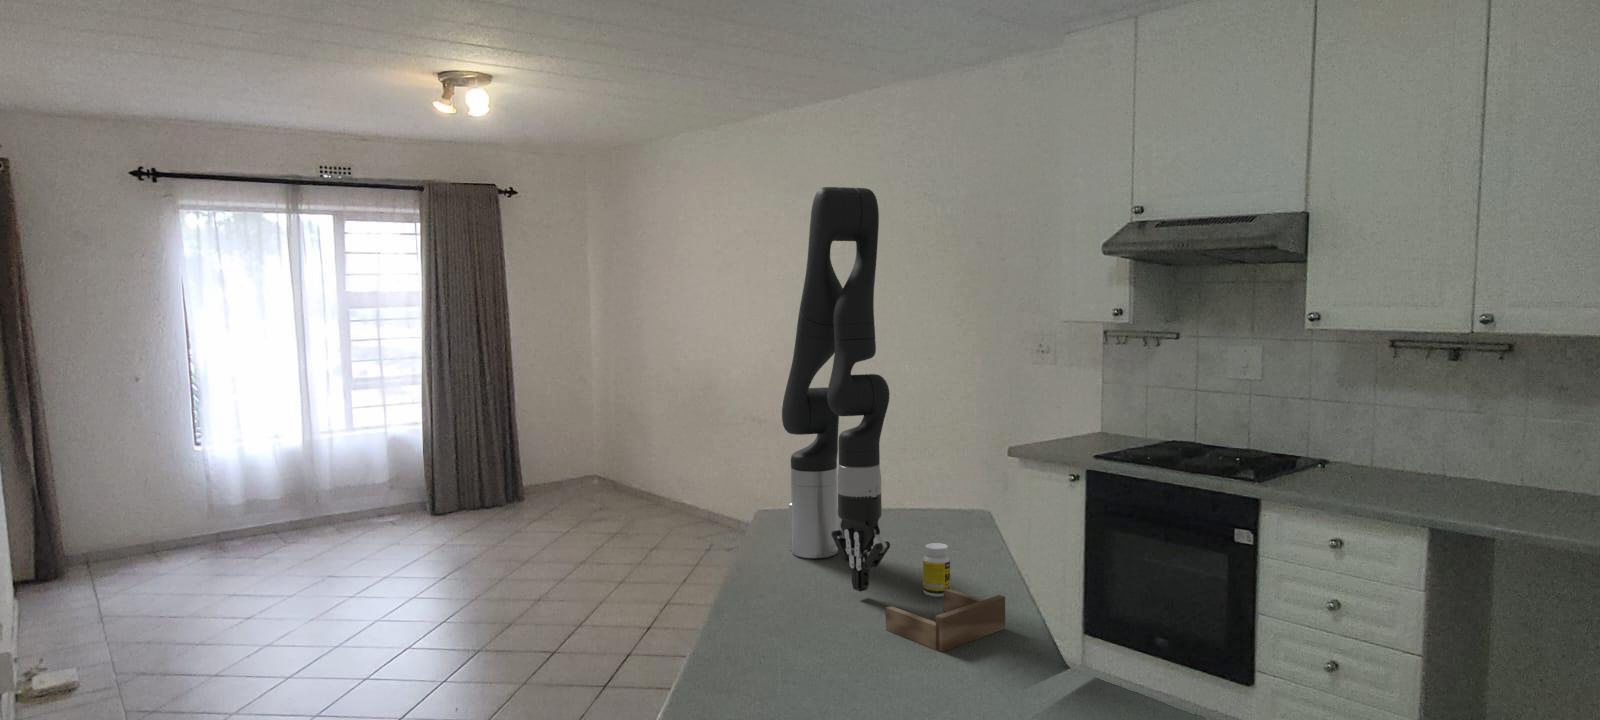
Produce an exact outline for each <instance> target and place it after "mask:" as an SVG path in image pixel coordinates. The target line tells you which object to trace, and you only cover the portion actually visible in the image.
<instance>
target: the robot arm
mask: <svg viewBox="0 0 1600 720" xmlns="http://www.w3.org/2000/svg"><path fill="white" fill-rule="evenodd" d="M879 212H880V211H879V204H878V199H877V196H876V195H875V192H874V191H872V190H871V189H870V188H865V187H843V186H842V187H840V186H839V187H837V186H824V187H821V188H819V189H818V190H817V191H816V193H815V195H814V198H813V201H812V205H811V211H810V223H809V233H808V235H809V236H808V250H807V260H806V261H807V262H806V269H805V277H804V281H803V282H804V283H803V287H802V295H801V299H800V300H801V301H800V304H799V309H798V316H797V317H798V318H797V324H796V333H795V342H794V343H795V344H794V349H793V357H792V363H791V365H790V370H789V373H788V374H789V375H788V380H787V383H786V387H785V391H784V396H783V401H782V407H781V420H782V421H781V422H782V426H783V428H784V430H785V431H786V432H787V433H788V434H790V435H797V436H799V435H802V436H803V435H804V436H805V435H816V437H815V439H814V441H812V443H810V444H809V445H807V446H805V447H804V448H801V449H799V450H796V451H795V452H793V453H792V454H791V456H790V483H791V484H790V487H791V488H790V490H791V491H790V493H791V503H789V504H788V535H789V536H788V538H789V540H788V542H789V547H788V548H789V549H788V550H789V551H791V553H792V555H794V556H795V557H798V558H799V557H800V558H805V559H824V558H830V557H833V556H835V555H837V554H838V553H839V554H840V557H841V560H843V562H844V563H848V564H849V567H850V568H851V583H852V589H853V590H855V591H858V592H860V593H861V592H863V591H867V590H868V588H869V586H870V574H869V573H870V569H872V568H877V567H878V566H879V565H880V564H881V562H882V560H883V558H884V557H885V555H886V554H887V552H888V551H889V549H891V548H890V547H891V543H890V541H889V540H888V541H886V540H885V541H884V539H883V538H882V537H881V530H880V526H879V521H880V519H881V518H882V515H883V514H882V511H883V510H882V508H883V507H882V506H883V505H882V473H881V467H880V466H881V464H880V461H881V460H880V457H881V456H880V441H881V435H882V431H883V426H884V421H885V417H886V416H887V415H886V414H887V411H888V407H889V402H890V388H889V384H888V382H887V380H886V379H885V378H884V377H883V376H882V375H879V374H876V373H869V374H868V373H865V374H852V370H853V367H854V365H856V364H857V363H859V362H864V361H867V360H870V359H872V358H873V357H874V356H875V355H876V351H877V349H876V348H877V345H876V344H877V343H876V328H875V311H874V301H875V300H874V298H875V297H874V293H875V281H876V280H875V279H876V270H877V268H876V267H877V258H878V257H877V256H878V240H879V223H880V217H879V216H880V214H879ZM833 242H855V248H856V251H855V253H856V254H855V259H854V264H853V266H852V270H851V271H850V275H849V276H848V278H847V281H846V282H845V284H844V286H842V284H841V283H840V280H839V279H838V276H837V274H836V272H835V269H834V268H833V264H832V260H831V247H832V245H833ZM832 357H833V362H832V363H833V364H832V369H831V374H830V378H829V381H828V387H811V386H810V385H811V383H812V381H813V379H814V378H815V376H816V374H817V373H818V372H819V371H820V370H821V368H823V367H824V366H825V365H826V363H827V362H828V361H829V360H830V359H831V358H832ZM859 416H860V417H861V416H863V417H862V420H861V422H860V423H859V425H857V426H855V427H852V428H849V429H846V430H844V431H841V432H840V434H839V425H840V422H839V420H840V417H859ZM837 461H838V462H837ZM838 519H840V520H841V522H840V527H839V528H838V524H839V523H838Z"/></svg>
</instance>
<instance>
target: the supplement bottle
mask: <svg viewBox="0 0 1600 720" xmlns="http://www.w3.org/2000/svg"><path fill="white" fill-rule="evenodd" d="M924 554H925V555H924V556H923V557H922V583H923V584H922V590H923V594H925V595H927V596H931V597H944V593H943V590H945V589H948V588H949V589H951V559H950V557H949V556H948V555H949V546H948V544H945V543H939V542H932V543H927V544H925V545H924Z"/></svg>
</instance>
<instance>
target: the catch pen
mask: <svg viewBox="0 0 1600 720" xmlns="http://www.w3.org/2000/svg"><path fill="white" fill-rule="evenodd" d="M943 593H944V596H943V612H944V613H940V614H937V615H935V621H934V620H932V619H928V618H925V617H923V616H920V615H918V614H914V613H912V612H909V611H906V610H904V609H901V608H898V607H896V606H893V605H890V606H887V607H886V606H885V631H888V632H890V633H893V634H895V635H898V636H900V637H903V638H906V639H907V640H910V641H913V642H915V643H918V644H920V645H923V646H926V647H928V648H930V649H934V650H936V651H939V652H941V653H944V652H947V651H949V650H951V649H956V648H957V647H959V646H962V645H965V644H968V643H970V642H974V641H975V640H978V639H981V638H984V637H986V636H989V635H992V634H994V633H997V632H999V631H1002V630H1006V596H1004V595H1001V594H997V595H995V596H991V597H989V598H985V599H983V598H981V597H977V596H974V595H970V594H967V593H965V592H961V591H958V590H954V589H952V588H950V589H949V588H948V589H945V590H943Z"/></svg>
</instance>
